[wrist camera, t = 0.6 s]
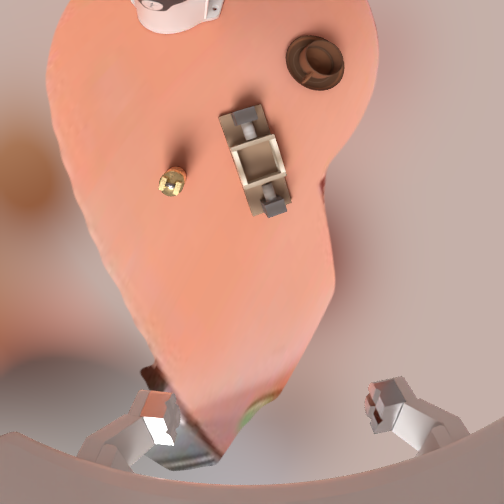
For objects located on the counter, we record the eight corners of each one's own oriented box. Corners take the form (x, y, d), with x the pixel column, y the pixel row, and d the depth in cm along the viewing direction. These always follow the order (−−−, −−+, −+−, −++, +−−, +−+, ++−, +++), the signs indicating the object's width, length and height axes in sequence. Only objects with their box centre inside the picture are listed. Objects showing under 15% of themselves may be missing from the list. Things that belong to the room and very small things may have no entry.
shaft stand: (218, 117, 48) (220, 115, 43) (259, 104, 48) (265, 101, 43) (252, 214, 56) (257, 223, 51) (289, 201, 56) (298, 208, 51)
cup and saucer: (333, 99, 49) (347, 97, 44) (277, 80, 47) (286, 74, 41) (344, 51, 45) (359, 44, 40) (290, 30, 42) (300, 20, 37)
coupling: (169, 163, 50) (161, 170, 40) (189, 170, 51) (186, 177, 42) (162, 184, 51) (154, 194, 42) (182, 190, 52) (178, 202, 43)
